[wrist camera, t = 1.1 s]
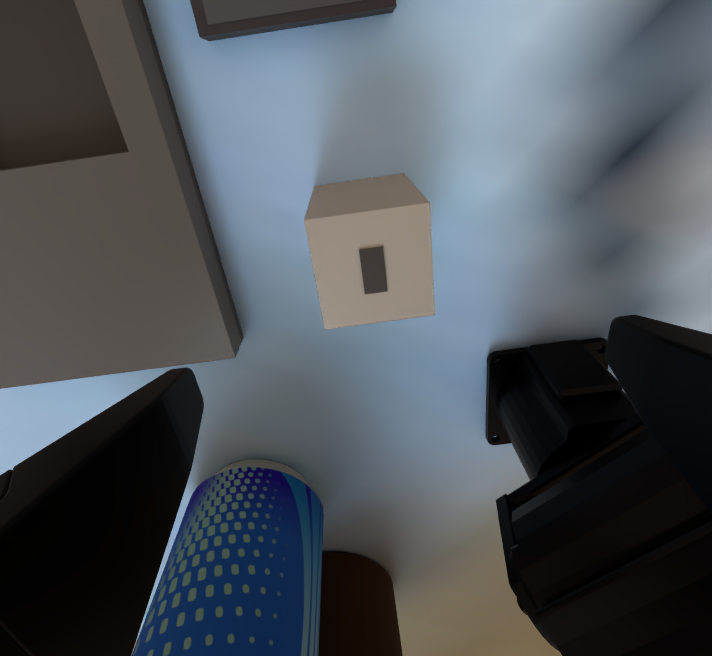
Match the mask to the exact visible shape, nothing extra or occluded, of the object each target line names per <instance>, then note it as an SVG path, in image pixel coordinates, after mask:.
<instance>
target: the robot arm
mask: <svg viewBox="0 0 712 656" xmlns="http://www.w3.org/2000/svg"><path fill="white" fill-rule="evenodd" d="M602 345H603V346H602ZM600 346H602V347H601V348H600V349H598V348H599V347H600ZM597 349H598V350H597ZM497 359H501V360H500V361H499V362H497V363H494V362H495V360H497ZM608 364H609V366H610V367H611V369H612V371H613V373H614V374H615V376H616V378H617V379H618V380H617V379H616V378H615V377H614V376H613V375H612V374H611V373H610V372H609V371H608V370H607V369H608ZM622 389H623V390H624V391H625V392H624V391H623V390H622ZM203 408H204V402H203V397H202V394H201V392H200V389H199V386H198V383H197V381H196V378H195V375H194V373H193V371H192V370H191V369H190V368H179V369H172V370H169V371H167V372H166V373H164V374H163V375H161V376H159V377H158V378H156V379H154V380H153V381H151V382H150V383H148V384H146V385H145V386H143V387H142V388H140V389H138V390H137V391H135V392H134V393H132V394H130V395H129V396H127V397H126V398H124V399H122V400H121V401H119V402H117V403H116V404H114V405H113V406H111V407H109V408H108V409H106V410H105V411H103V412H101V413H100V414H98V415H97V416H95V417H93V418H92V419H90V420H89V421H87V422H85V423H84V424H82V425H80V426H79V427H77V428H76V429H74V430H72V431H71V432H69V433H68V434H66V435H64V436H63V437H61V438H60V439H58V440H56V441H55V442H53V443H52V444H50V445H48V446H47V447H45V448H44V449H42V450H40V451H39V452H37V453H35V454H34V455H32V456H31V457H29V458H27V459H26V460H24V461H23V462H21V463H19V464H18V465H16V466H15V467H14V468H13V470H8V471H6V472H5V473H3V474H2V475H0V656H131V654H132V651H133V648H134V645H135V642H136V639H137V636H138V633H139V630H140V627H141V623H142V620H143V617H144V614H145V611H146V608H147V605H148V602H149V599H150V596H151V593H152V589H153V586H154V583H155V580H156V577H157V574H158V571H159V568H160V565H161V562H162V559H163V556H164V552H165V549H166V546H167V543H168V540H169V537H170V534H171V531H172V528H173V525H174V522H175V519H176V515H177V512H178V509H179V506H180V503H181V500H182V497H183V494H184V491H185V488H186V485H187V482H188V478H189V475H190V472H191V468H192V463H193V459H194V454H195V449H196V444H197V439H198V434H199V429H200V424H201V419H202V414H203ZM494 436H496V437H494ZM486 438H487V441H488V443H489V444H491V445H500V444H508V443H512V445H513V447H514V449H515V451H516V453H517V455H518V457H519V459H520V461H521V463H522V465H523V467H524V469H525V471H526V473H527V475H528V477H529V479H530V481H529V482H527V483H526V484H524V485H523V486H521V487H520V488H518V489H516V490H515V491H513V492H512V493H510V494H509V495H507V494H504V495H503V496H501V497H500V498H498V499H497V500H496V504H497V510H498V518H499V524H500V530H501V536H502V543H503V549H504V555H505V562H506V567H507V574H508V580H509V584H510V587H511V589H512V590H513V592H514V593H515V595H516V596H517V602H518V605H519V607H520V609H521V610H522V611H523V613H524V614H526V615H528V616H529V618H530V619H531V621H532V623H533V624H534V626H535V627H536V628H537V629H538V631H539V632H540V633H541V635H542V636H543V637H544V638H545V639H546V640H547V641H548V642H549V643H550V645H551V646H553V647H554V648H555V649H557V650H558V651H560V653H561V654H562V656H712V334H708V333H704V332H700V331H697V330H693V329H689V328H685V327H681V326H677V325H673V324H669V323H666V322H662V321H658V320H654V319H650V318H646V317H642V316H638V315H628V316H620V317H616V318H614V319H613V320H612V322H611V325H610V330H609V335H608V340H606V339H604V338H594V339H586V340H570V341H562V342H554V343H546V344H539V345H532V346H530V347H524V348H516V349H508V350H500V351H495V352H492V353H491V354H490V355H489V356H488V359H487V391H486Z"/></svg>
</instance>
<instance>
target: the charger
mask: <svg viewBox="0 0 712 656" xmlns="http://www.w3.org/2000/svg"><path fill="white" fill-rule="evenodd" d="M304 222H305V227H306V233H307V238H308V243H309V248H310V254H311V259H312V264H313V269H314V275H315V280H316V285H317V290H318V296H319V301H320V306H321V311H322V317H323V322H324V327H325V329H332V328H340V327H347V326H355V325H363V324H370V323H378V322H385V321H393V320H401V319H408V318H416V317H423V316H431V315H435V308H434V286H433V265H432V243H431V222H430V202H429V201H428V200H427V199H426V198H425V197H424V196H423V194H422V193H421V192H420V191H419V190H418V189H417V187H416V186H415V185H414V184H413V183H412V182H411V181H410V179H409V178H408V177H407V176H406V175H405V174H404V173H402V174H395V175H388V176H381V177H374V178H367V179H360V180H353V181H346V182H339V183H332V184H325V185H318V186H314V188H313V192H312V195H311V199H310V202H309V205H308V209H307V212H306V216H305V219H304Z"/></svg>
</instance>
